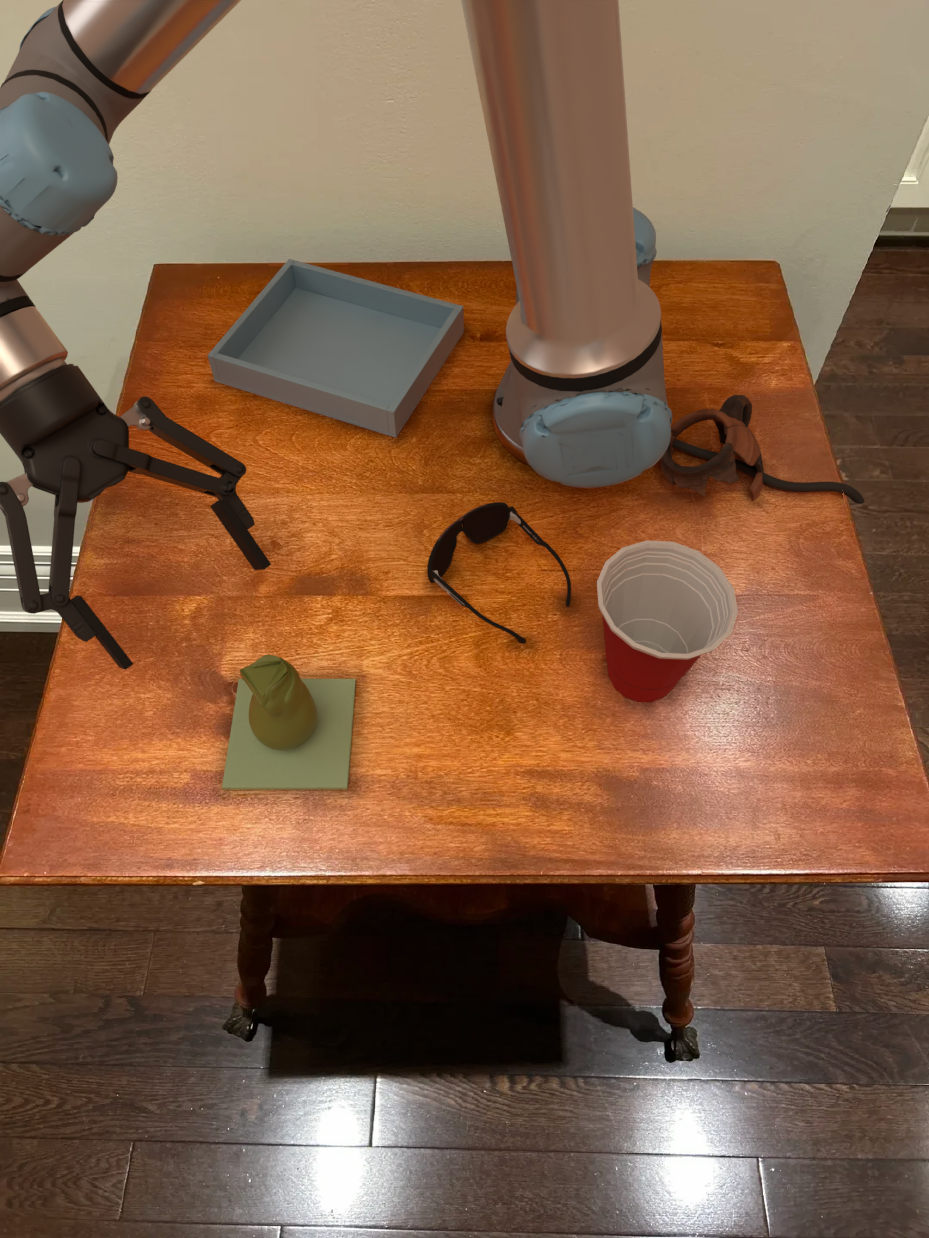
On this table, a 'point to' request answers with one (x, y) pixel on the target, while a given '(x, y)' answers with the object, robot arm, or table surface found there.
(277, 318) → the tray
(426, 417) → the table surface
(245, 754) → the coaster
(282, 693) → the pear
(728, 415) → the brown piece
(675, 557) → the plastic cup
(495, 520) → the sunglasses
